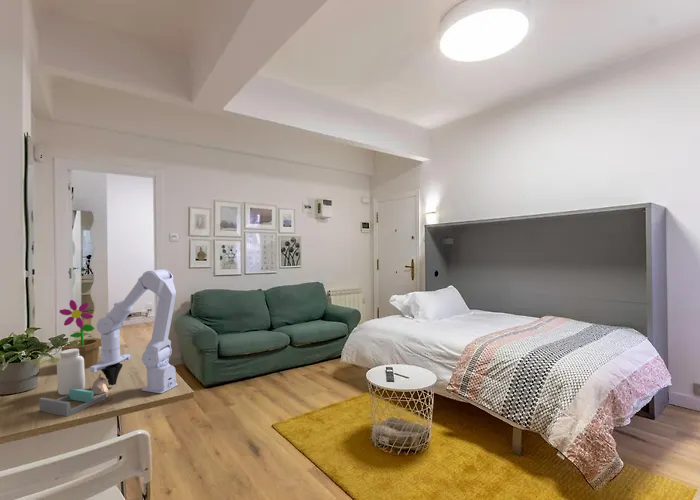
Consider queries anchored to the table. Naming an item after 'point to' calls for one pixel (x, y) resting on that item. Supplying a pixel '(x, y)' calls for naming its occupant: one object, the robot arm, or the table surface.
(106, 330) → the robot arm
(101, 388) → the mouse figurine
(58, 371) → the pill bottle
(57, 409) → the tray
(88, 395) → the block
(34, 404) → the table surface
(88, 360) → the flowerpot
